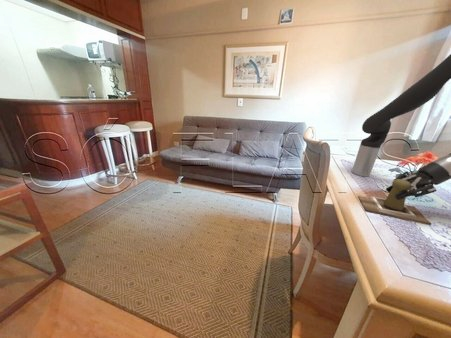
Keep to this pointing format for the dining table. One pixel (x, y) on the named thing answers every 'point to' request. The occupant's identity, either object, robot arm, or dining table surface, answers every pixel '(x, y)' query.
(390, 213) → the board
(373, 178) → the dining table surface
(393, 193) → the olive game pawn
